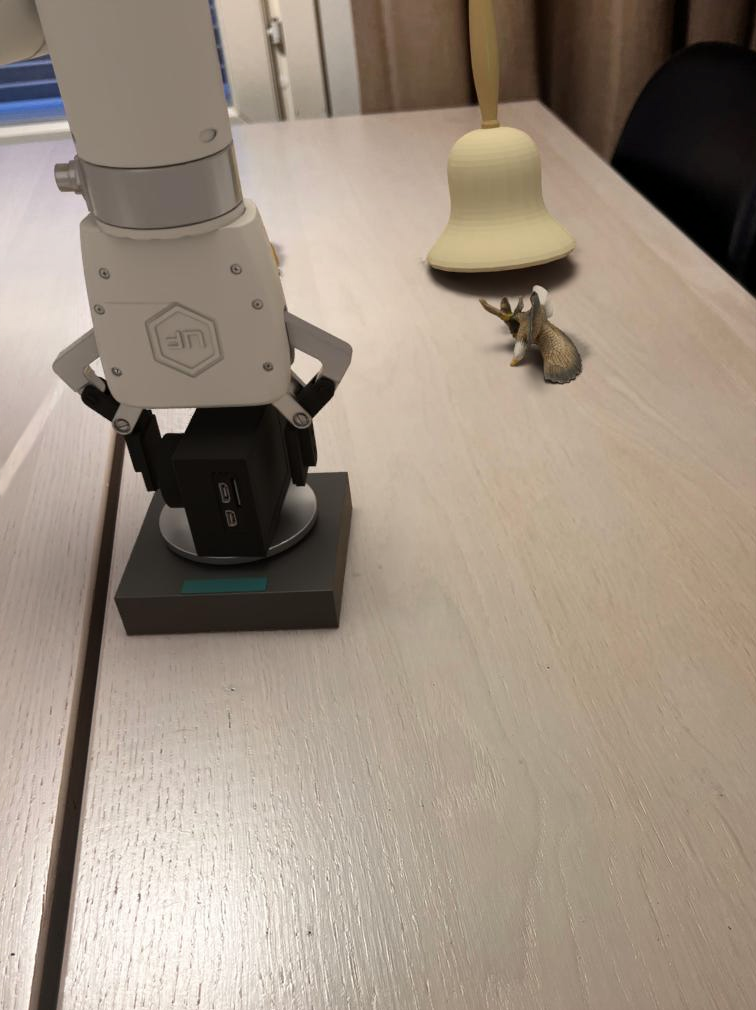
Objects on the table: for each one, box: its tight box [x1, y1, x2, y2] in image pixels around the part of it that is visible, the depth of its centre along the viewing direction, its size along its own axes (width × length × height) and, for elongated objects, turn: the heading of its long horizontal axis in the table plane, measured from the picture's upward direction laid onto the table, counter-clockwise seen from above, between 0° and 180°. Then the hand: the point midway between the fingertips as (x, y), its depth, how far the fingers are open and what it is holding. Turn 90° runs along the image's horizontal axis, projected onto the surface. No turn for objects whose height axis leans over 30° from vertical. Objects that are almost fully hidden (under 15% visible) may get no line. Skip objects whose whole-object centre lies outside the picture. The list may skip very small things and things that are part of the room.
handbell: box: [425, 0, 577, 273], centre depth 95 cm, size 15×15×25 cm
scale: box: [113, 471, 353, 636], centre depth 64 cm, size 13×13×3 cm
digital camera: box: [157, 403, 291, 557], centre depth 61 cm, size 10×5×7 cm, turn 178°
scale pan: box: [159, 477, 318, 565], centre depth 63 cm, size 10×10×1 cm
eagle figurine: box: [478, 285, 583, 384], centre depth 84 cm, size 8×7×9 cm
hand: (230, 476), depth 61 cm, fingers open, 8 cm apart
